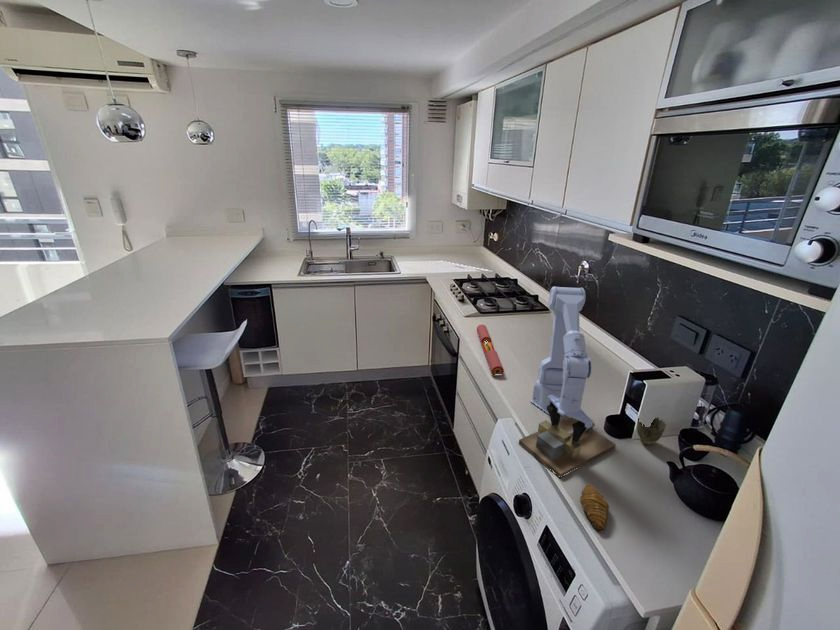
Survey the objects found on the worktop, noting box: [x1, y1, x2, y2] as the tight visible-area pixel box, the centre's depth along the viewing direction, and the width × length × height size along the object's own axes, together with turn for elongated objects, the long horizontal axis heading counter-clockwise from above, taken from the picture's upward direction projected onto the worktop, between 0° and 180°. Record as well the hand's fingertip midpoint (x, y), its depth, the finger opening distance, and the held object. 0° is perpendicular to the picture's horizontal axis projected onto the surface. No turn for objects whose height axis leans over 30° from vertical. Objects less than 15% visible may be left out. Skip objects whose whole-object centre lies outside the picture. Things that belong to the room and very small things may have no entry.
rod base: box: [518, 416, 617, 478], centre depth 118 cm, size 16×24×6 cm, turn 120°
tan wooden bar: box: [537, 420, 581, 458], centre depth 115 cm, size 13×3×5 cm, turn 30°
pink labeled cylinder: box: [476, 324, 505, 376], centre depth 175 cm, size 42×5×5 cm, turn 0°
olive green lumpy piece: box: [636, 416, 667, 446], centre depth 119 cm, size 8×7×8 cm
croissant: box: [579, 483, 610, 532], centre depth 96 cm, size 14×7×5 cm, turn 169°
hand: (564, 433), depth 116 cm, fingers open, 7 cm apart
